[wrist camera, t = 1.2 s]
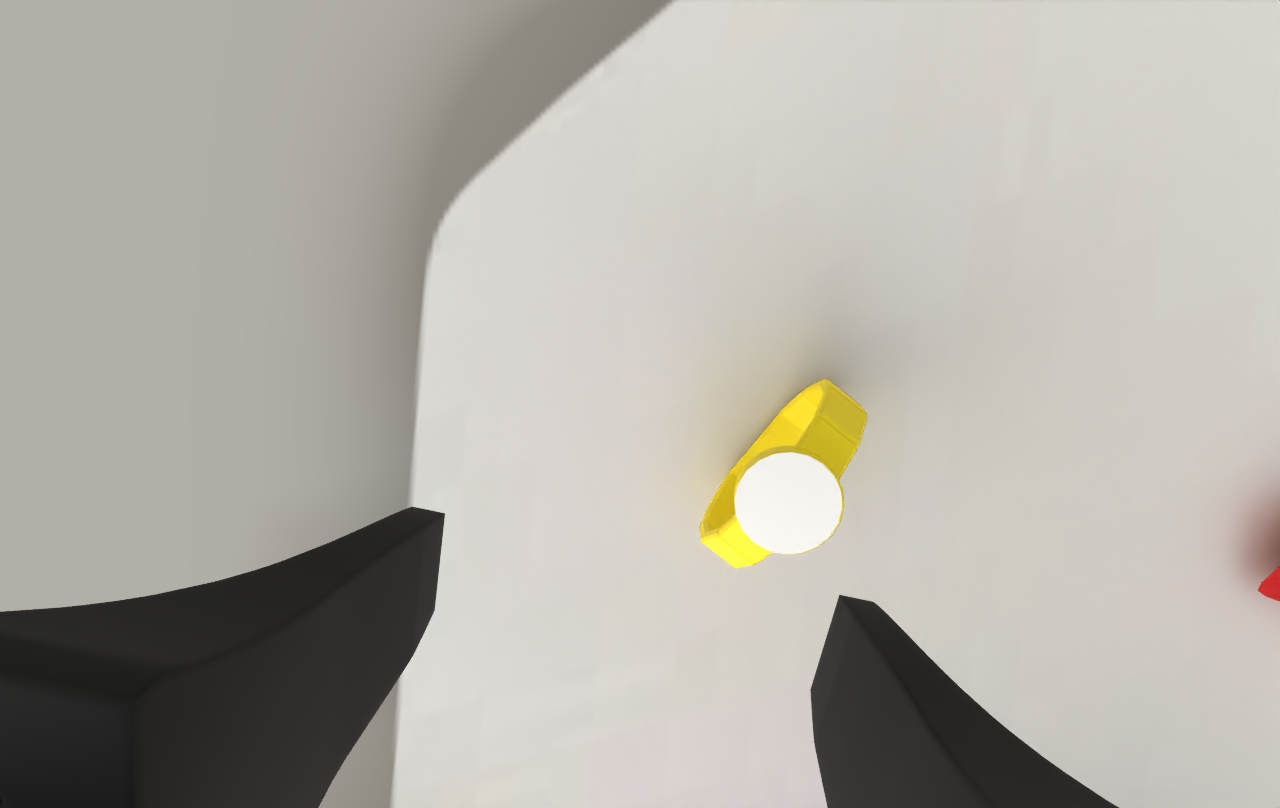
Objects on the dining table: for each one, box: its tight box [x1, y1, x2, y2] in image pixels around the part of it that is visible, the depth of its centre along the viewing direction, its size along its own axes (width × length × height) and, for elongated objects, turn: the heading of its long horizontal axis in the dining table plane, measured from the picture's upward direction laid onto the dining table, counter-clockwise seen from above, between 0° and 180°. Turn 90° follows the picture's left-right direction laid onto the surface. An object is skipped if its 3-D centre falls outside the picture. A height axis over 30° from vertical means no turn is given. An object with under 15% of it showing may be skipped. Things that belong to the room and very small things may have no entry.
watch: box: [699, 379, 867, 568], centre depth 22 cm, size 6×3×6 cm, turn 142°
